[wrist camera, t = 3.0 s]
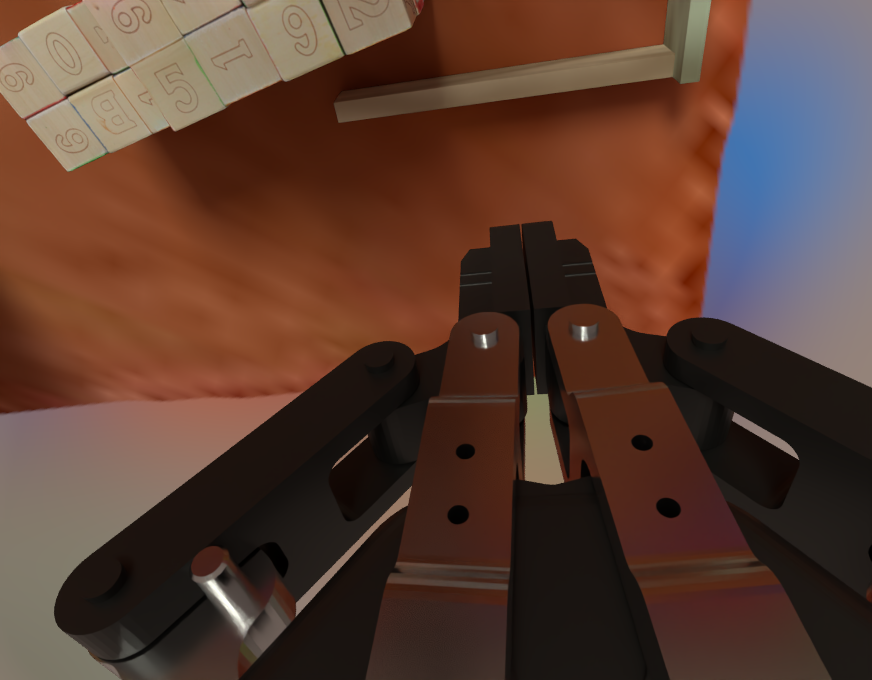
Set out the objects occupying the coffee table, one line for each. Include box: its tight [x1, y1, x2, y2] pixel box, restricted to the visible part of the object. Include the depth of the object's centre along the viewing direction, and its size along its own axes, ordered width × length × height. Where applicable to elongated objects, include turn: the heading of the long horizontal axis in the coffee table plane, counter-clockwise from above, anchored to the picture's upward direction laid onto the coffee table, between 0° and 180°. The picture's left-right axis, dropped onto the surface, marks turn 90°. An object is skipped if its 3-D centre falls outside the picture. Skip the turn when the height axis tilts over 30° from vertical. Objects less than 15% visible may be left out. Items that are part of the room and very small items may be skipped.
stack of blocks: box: [0, 0, 424, 171], centre depth 28 cm, size 21×6×12 cm, turn 111°
